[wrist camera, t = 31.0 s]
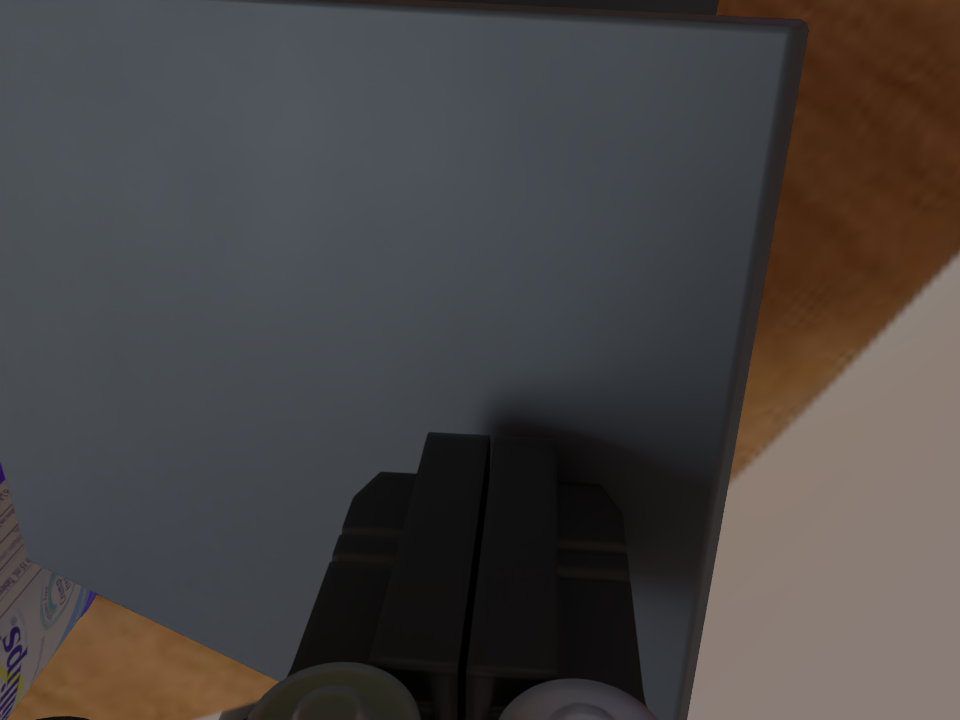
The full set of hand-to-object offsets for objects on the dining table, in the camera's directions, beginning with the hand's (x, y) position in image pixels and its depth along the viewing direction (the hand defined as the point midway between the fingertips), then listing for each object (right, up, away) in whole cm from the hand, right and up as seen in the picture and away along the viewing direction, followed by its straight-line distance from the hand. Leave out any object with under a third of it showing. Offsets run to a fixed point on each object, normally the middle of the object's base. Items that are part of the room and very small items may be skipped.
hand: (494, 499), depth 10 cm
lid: (-3, +1, +3) cm, 4 cm away
